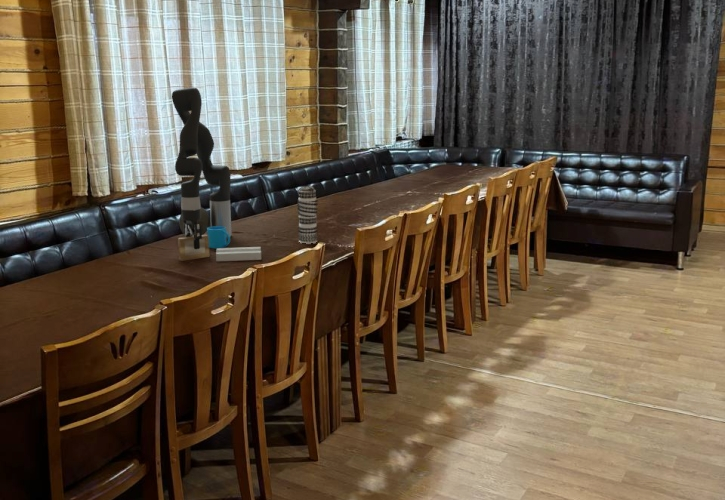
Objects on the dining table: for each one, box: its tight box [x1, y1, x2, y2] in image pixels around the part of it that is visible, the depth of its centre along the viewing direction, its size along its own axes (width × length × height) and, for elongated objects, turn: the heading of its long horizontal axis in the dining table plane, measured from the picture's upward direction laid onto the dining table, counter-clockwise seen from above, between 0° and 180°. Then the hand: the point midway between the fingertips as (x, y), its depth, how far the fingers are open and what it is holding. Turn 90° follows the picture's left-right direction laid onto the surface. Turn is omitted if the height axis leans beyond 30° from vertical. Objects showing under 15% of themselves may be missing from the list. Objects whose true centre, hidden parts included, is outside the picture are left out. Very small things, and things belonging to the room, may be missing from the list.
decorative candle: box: [296, 186, 319, 245], centre depth 302 cm, size 9×9×25 cm
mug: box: [206, 226, 231, 249], centre depth 295 cm, size 12×8×8 cm
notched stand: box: [215, 246, 262, 262], centre depth 277 cm, size 10×18×3 cm, turn 100°
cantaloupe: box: [178, 206, 211, 236], centre depth 309 cm, size 14×14×15 cm
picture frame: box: [177, 234, 210, 262], centre depth 275 cm, size 3×12×9 cm, turn 125°
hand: (193, 246), depth 274 cm, fingers open, 8 cm apart
